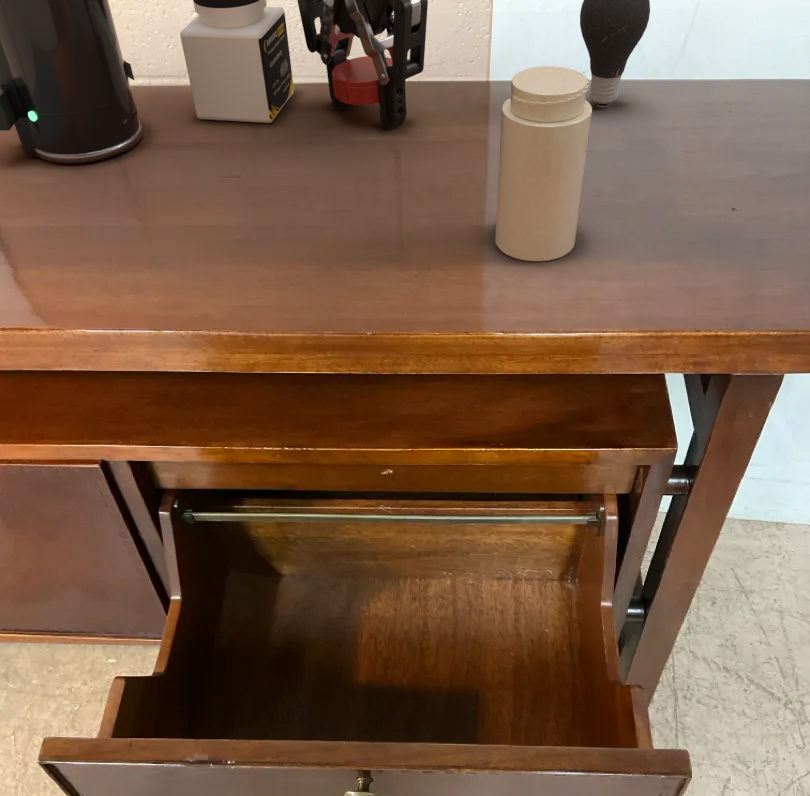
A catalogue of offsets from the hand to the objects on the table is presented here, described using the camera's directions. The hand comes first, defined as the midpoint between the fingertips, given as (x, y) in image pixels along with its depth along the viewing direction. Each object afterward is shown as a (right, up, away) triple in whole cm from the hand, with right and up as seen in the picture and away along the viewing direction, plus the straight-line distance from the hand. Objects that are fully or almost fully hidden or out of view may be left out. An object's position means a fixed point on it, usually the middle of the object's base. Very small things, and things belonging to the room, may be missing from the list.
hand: (368, 115), depth 75 cm
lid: (0, +2, -3) cm, 3 cm away
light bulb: (+21, +1, 0) cm, 21 cm away
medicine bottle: (-11, +2, +2) cm, 12 cm away
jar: (+12, -17, -15) cm, 26 cm away
